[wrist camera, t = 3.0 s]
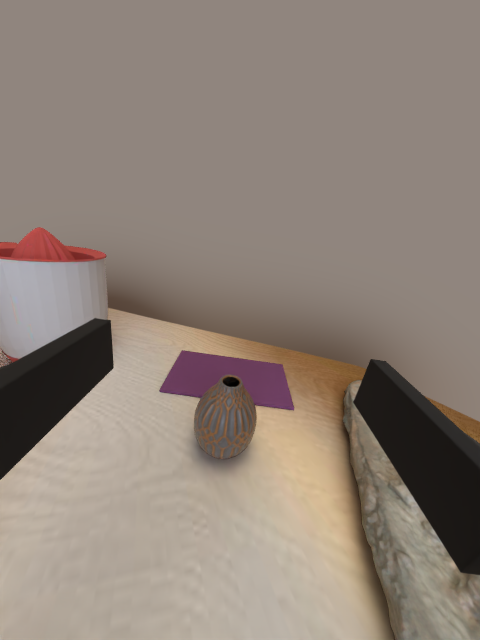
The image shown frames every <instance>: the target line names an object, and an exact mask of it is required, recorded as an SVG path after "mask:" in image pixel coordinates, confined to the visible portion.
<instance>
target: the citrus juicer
mask: <svg viewBox="0 0 480 640" xmlns="http://www.w3.org/2000/svg"><path fill="white" fill-rule="evenodd" d="M105 258H106V254H104V253H102V252H100V251H96V250H92V249H86V248H79V247H73V246H64V245H63V244H62V243H61V242H60V241H59V240H58V239H56V238H55V237H54V236H53V235H52V234H50V233H49V232H48V231H46V230H45V229H43V228H40V227H39V228H35V229H34V230H32V231H31V232H30V233H29V234H28V235H26V236H25V237H24V238H23V239H22V240H21V241H20V242H19V244H17V243H10V242H0V348H1V349H2V352H3V353H4V354H5V355H6V356H7V357H8V358H9V359H10V360H11V361H12V362H15V361H17V360H18V359H20V358H22V357H24V356H26V355H28V354H29V353H31V352H33V351H35V350H37V349H39V348H41V347H42V346H44V345H46V344H48V343H50V342H52V341H53V340H55V339H57V338H59V337H61V336H63V335H65V334H66V333H68V332H70V331H72V330H74V329H76V328H77V327H79V326H81V325H83V324H85V323H87V322H89V321H90V320H92V319H94V318H98V319H105V320H107V317H108V299H107V286H106V271H105Z"/></svg>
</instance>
